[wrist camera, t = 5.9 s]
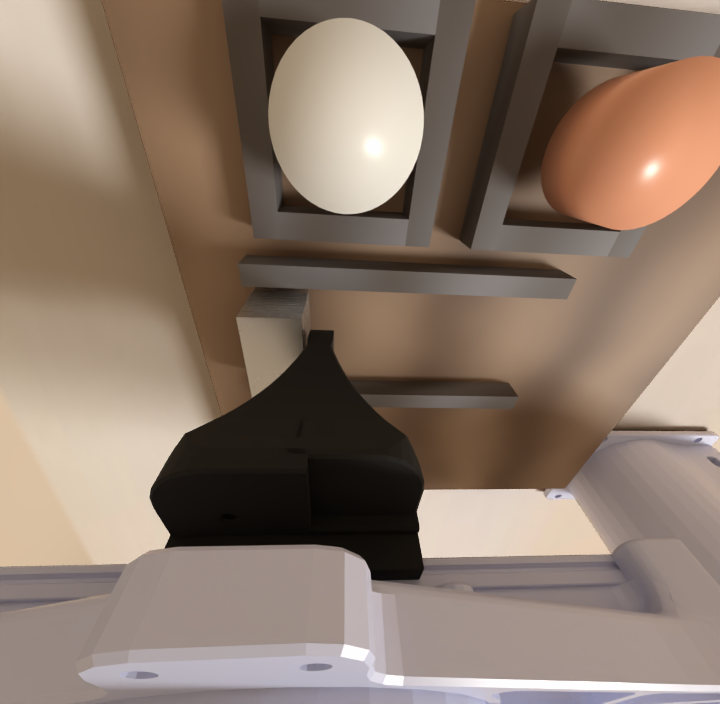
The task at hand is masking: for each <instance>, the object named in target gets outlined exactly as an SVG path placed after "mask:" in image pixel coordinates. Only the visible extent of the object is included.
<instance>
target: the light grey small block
mask: <svg viewBox="0 0 720 704" xmlns="http://www.w3.org/2000/svg"><path fill="white" fill-rule="evenodd" d="M236 320H237V325H238V330H239V335H240V340H241V345H242V350H243V355H244V360H245V365H246V370H247V375H248V380H249V385H250V390H251V395H252V398H253V397H254V396H255V395H257V394H258V393H260V392H261V391H262V390H264V389H265V388H266V387H268V386H269V385H270V384H271V383H272V382H273V381H275V380H276V379H277V378H278V377H279V376H280V375H281V374H282V373H283V372H284V371H285V370H286V369H287V368H288V367H289V366H290V365H291V364H292V363H293V362H294V361H295V360H296V358H297V357H298V356H299V355H300V354H301V352H302V351H303V350H304V349H305V347H306V346H307V339H308V335H309V332H310V330H311V327H310V301H309V289H290V288H265V287H255V288H254V290H253V291H252V293H251V295H250V296H249V298H248V299H247V301H246V302H245V304H244V305H243V307H242V309H241V310H240V312H239V313H238V315H237V316H236Z"/></svg>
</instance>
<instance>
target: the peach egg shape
mask: <svg viewBox="0 0 720 704" xmlns="http://www.w3.org/2000/svg"><path fill="white" fill-rule="evenodd" d="M719 166H720V58H718V57H713V56H697V57H691V58H687V59H683V60H679V61H675V62H672V63H668V64H664V65H660V66H656V67H653V68H649V69H645V70H641V71H637V72H634V73H630V74H626V75H622V76H619V77H615V78H612V79H609V80H607V81H605V82H603V83H601V84H599V85H597V86H596V87H594V88H593V89H591V90H590V91H589V92H587V93H586V94H585V95H583V96H582V97H581V98H580V99H579V100H578V101H577V102H576V103H575V104H574V105H573V106H572V107H571V108H570V109H569V110H568V112H567V113H566V114H565V115H564V117H563V118H562V119H561V121H560V122H559V124H558V125H557V127H556V129H555V130H554V132H553V134H552V136H551V138H550V140H549V143H548V145H547V148H546V151H545V154H544V157H543V162H542V167H541V185H542V190H543V193H544V196H545V198H546V200H547V202H548V203H549V205H550V206H551V207H552V208H553V209H554V210H556V211H557V212H559V213H561V214H563V215H566V216H570V217H573V218H576V219H580V220H583V221H586V222H590V223H593V224H596V225H600V226H603V227H606V228H610V229H614V230H631V229H636V228H640V227H644V226H647V225H649V224H652V223H654V222H656V221H658V220H660V219H662V218H664V217H666V216H667V215H669V214H671V213H672V212H674V211H675V210H677V209H678V208H679V207H681V206H682V205H683V204H685V203H686V202H687V201H688V200H689V199H691V198H692V197H693V196H694V195H695V194H696V193H697V192H698V191H699V190H700V189H701V188H702V187H703V186H704V185H705V184H706V182H707V181H708V180H709V179H710V178H711V176H712V175H713V174H714V173H715V171H716V170H717V169H718V167H719Z"/></svg>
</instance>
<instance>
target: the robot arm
mask: <svg viewBox="0 0 720 704" xmlns="http://www.w3.org/2000/svg"><path fill="white" fill-rule="evenodd" d="M718 439H719V436H718V435H717V434H716V433H714V432H712V431H611V432H610V433H609V434H608V436H607V437H606V438H605V439H604V441H603V442H602V443H601V444H600V446H599V447H598V448H597V449H596V451H595V452H594V453H593V454H592V456H591V457H590V458H589V459H588V461H587V462H586V463H585V464H584V466H583V467H582V468H581V469H580V470H579V472H578V473H577V474H576V475H575V477H574V478H573V479H572V480H571V482H570V483H569V484H568V485H567V487H566V488H564V489H546V490H545V491H544V495H545V497H546V498H547V499H575V500H576V501H577V503H578V504H579V506H580V507H581V509H582V510H583V512H584V513H585V515H586V516H587V518H588V519H589V521H590V522H591V524H592V525H593V527H594V528H595V530H596V532H597V533H598V535H599V536H600V538H601V539H602V541H603V542H604V544H605V545H606V547H607V548H608V550H609V551H610V553H611V554H609V555H559V556H509V557H459V558H422V554H421V549H420V543H419V538H418V533H417V532H419V522H418V517H417V509H418V506H419V503H420V500H421V497H422V494H423V491H424V478H423V473H422V470H421V467H420V464H419V461H418V459H417V456H416V454H415V451H414V449H413V447H412V445H411V443H410V441H409V439H408V437H407V436H406V435H405V434H404V433H402V432H401V431H400V430H398V429H397V428H395V427H394V426H393V425H391V424H390V423H389V422H387V421H386V420H385V419H384V418H383V417H382V416H380V415H379V414H378V413H377V412H376V411H375V410H374V409H373V408H372V407H371V406H370V405H369V404H368V403H367V401H366V400H365V399H364V398H363V397H362V396H361V395H360V394H359V392H358V391H357V390H356V389H355V387H354V386H353V385H352V383H351V382H350V380H349V379H348V377H347V376H346V374H345V372H344V371H343V369H342V367H341V365H340V363H339V362H338V359H337V357H336V355H335V353H334V330H310V332H309V335H308V339H307V346H306V347H305V349H304V350H303V351H302V352H301V354H300V355H299V356H298V357H297V358H296V360H295V361H294V362H293V363H292V364H291V365H290V366H289V367H288V368H287V369H286V370H285V371H284V372H283V373H282V374H281V375H280V376H279V377H278V378H277V379H276V380H275V381H273V382H272V383H271V384H270V385H269V386H268V387H266V388H265V389H264V390H262V391H261V392H260V393H258V394H257V395H255V396H254V397H253V398H251V399H250V400H248V401H247V402H245V403H243V404H242V405H240V406H239V407H237V408H235V409H233V410H232V411H230V412H228V413H226V414H225V415H223V416H221V417H219V418H217V419H215V420H213V421H211V422H209V423H207V424H205V425H203V426H200V427H198V428H196V429H194V430H192V431H190V432H188V433H185V434H184V436H183V437H182V439H181V440H180V442H179V443H178V444H177V446H176V447H175V448H174V450H173V452H172V453H171V455H170V456H169V458H168V460H167V461H166V463H165V465H164V467H163V468H162V470H161V472H160V474H159V475H158V477H157V479H156V481H155V482H154V484H153V486H152V488H151V492H150V500H151V502H152V505H153V507H154V509H155V511H156V513H157V514H158V516H159V517H160V519H161V520H162V522H163V524H164V525H165V527H166V528H167V530H168V531H169V533H170V537H169V540H168V542H167V544H166V546H165V549H159V550H152V551H149V552H147V553H145V554H143V555H141V556H140V557H138V558H137V559H135V560H134V561H132V562H131V563H129V564H111V565H62V566H19V567H18V566H15V567H14V566H12V567H0V704H720V452H718V451H717V450H716V449H715V448H713V447H712V446H711V445H712V444H714V443H715V442H716V441H717V440H718Z"/></svg>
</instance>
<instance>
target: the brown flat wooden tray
mask: <svg viewBox="0 0 720 704" xmlns="http://www.w3.org/2000/svg"><path fill="white" fill-rule="evenodd" d="M102 4H103V7H104V11H105V14H106V18H107V21H108V24H109V28H110V31H111V35H112V38H113V42H114V45H115V49H116V52H117V56H118V59H119V62H120V66H121V69H122V73H123V76H124V80H125V83H126V87H127V90H128V94H129V97H130V100H131V104H132V107H133V111H134V114H135V118H136V121H137V125H138V128H139V131H140V135H141V138H142V142H143V145H144V149H145V152H146V156H147V159H148V163H149V166H150V169H151V173H152V176H153V180H154V183H155V187H156V190H157V194H158V197H159V201H160V204H161V207H162V211H163V214H164V218H165V221H166V225H167V228H168V232H169V235H170V239H171V242H172V245H173V249H174V252H175V256H176V259H177V263H178V266H179V270H180V273H181V276H182V280H183V283H184V287H185V290H186V294H187V297H188V301H189V304H190V308H191V311H192V314H193V318H194V321H195V325H196V328H197V332H198V335H199V339H200V342H201V346H202V349H203V352H204V356H205V359H206V363H207V366H208V370H209V373H210V377H211V380H212V383H213V387H214V390H215V394H216V397H217V401H218V404H219V408H220V411H221V415H222V416H223V415H225V414H226V413H228V412H230V411H232V410H233V409H235V408H237V407H239V406H240V405H242V404H243V403H245V402H247V401H248V400H250V399H251V398H252V395H251V390H250V385H249V380H248V375H247V370H246V365H245V360H244V355H243V350H242V345H241V340H240V335H239V330H238V325H237V320H236V316H237V315H238V313H239V312H240V310H241V309H242V307H243V305H244V304H245V302H246V301H247V299H248V298H249V296H250V295H251V293H252V291H253V290H254V288H255V287H265V288H290V289H309V301H310V327H311V330H334V353H335V355H336V357H337V359H338V362H339V363H340V365H341V367H342V369H343V371H344V372H345V374H346V376H347V377H348V379H349V380H350V382H351V383H352V385H353V386H354V387H355V389H356V390H357V391H358V392H359V394H360V395H361V396H362V397H363V398H364V399H365V400H366V401H367V403H368V404H369V405H370V406H371V407H372V408H373V409H374V410H375V411H376V412H377V413H378V414H379V415H380V416H382V417H383V418H384V419H385V420H386V421H387V422H389V423H390V424H391V425H393V426H394V427H395V428H397V429H398V430H400V431H401V432H402V433H404V434H405V435H406V436H407V437H408V439H409V441H410V443H411V445H412V447H413V449H414V451H415V454H416V456H417V459H418V461H419V464H420V467H421V470H422V473H423V478H424V490H430V489H564V488H566V487H567V485H568V484H569V483H570V482H571V480H572V479H573V478H574V477H575V475H576V474H577V473H578V472H579V470H580V469H581V468H582V467H583V466H584V464H585V463H586V462H587V461H588V459H589V458H590V457H591V456H592V454H593V453H594V452H595V451H596V449H597V448H598V447H599V446H600V444H601V443H602V442H603V441H604V439H605V438H606V437H607V436H608V434H609V433H610V432H611V431H612V430H613V428H614V427H615V426H616V425H617V423H618V422H619V421H620V420H621V418H622V417H623V416H624V415H625V413H626V412H627V411H628V410H629V408H630V407H631V406H632V405H633V403H634V402H635V401H636V400H637V398H638V397H639V396H640V395H641V394H642V392H643V391H644V390H645V389H646V387H647V386H648V385H649V384H650V382H651V381H652V380H653V379H654V377H655V376H656V375H657V374H658V372H659V371H660V370H661V369H662V367H663V366H664V365H665V364H666V362H667V361H668V360H669V359H670V357H671V356H672V355H673V354H674V353H675V351H676V350H677V349H678V348H679V346H680V345H681V344H682V343H683V341H684V340H685V339H686V338H687V336H688V335H689V334H690V333H691V331H692V330H693V329H694V328H695V326H696V325H697V324H698V323H699V321H700V320H701V319H702V318H703V317H704V315H705V314H706V313H707V312H708V310H709V309H710V308H711V307H712V305H713V304H714V303H715V302H716V300H717V299H718V298H719V297H720V166H719V167H718V169H717V170H716V171H715V173H714V174H713V175H712V176H711V178H710V179H709V180H708V181H707V182H706V184H705V185H704V186H703V187H702V188H701V189H700V190H699V191H698V192H697V193H696V194H695V195H694V196H693V197H692V198H691V199H689V200H688V201H687V202H686V203H685V204H683V205H682V206H681V207H679V208H678V209H677V210H675V211H674V212H672V213H671V214H669V215H667V216H666V217H664V218H662V219H660V220H658V221H656V222H654V223H652V224H649V225H647V226H644V227H640V228H636V229H631V230H614V229H610V228H606V227H603V226H600V225H596V224H593V223H590V222H586V221H583V220H580V219H576V218H573V217H570V216H566V215H563V214H561V213H559V212H557V211H556V210H554V209H553V208H552V207H551V206H550V205H549V203H548V202H547V200H546V198H545V196H544V193H543V190H542V185H541V167H542V162H543V157H544V154H545V151H546V148H547V145H548V143H549V140H550V138H551V136H552V134H553V132H554V130H555V129H556V127H557V125H558V124H559V122H560V121H561V119H562V118H563V117H564V115H565V114H566V113H567V112H568V110H569V109H570V108H571V107H572V106H573V105H574V104H575V103H576V102H577V101H578V100H579V99H580V98H581V97H582V96H583V95H585V94H586V93H587V92H589V91H590V90H591V89H593V88H594V87H596V86H597V85H599V84H601V83H603V82H605V81H607V80H609V79H612V78H615V77H619V76H622V75H626V74H630V73H634V72H637V71H641V70H645V69H649V68H653V67H656V66H660V65H664V64H668V63H672V62H675V61H679V60H683V59H687V58H691V57H697V56H713V57H718V58H720V15H719V14H710V13H702V12H693V11H685V10H676V9H668V8H659V7H650V6H642V5H633V4H625V3H616V2H607V1H599V0H531V1H529V2H528V3H520V2H511V1H502V0H102ZM335 18H353V19H358V20H362V21H365V22H367V23H370V24H372V25H374V26H376V27H377V28H379V29H381V30H382V31H384V32H385V33H386V34H387V35H389V36H390V37H391V38H392V39H393V40H394V41H395V42H396V43H397V44H398V46H399V47H400V48H401V49H402V50H403V52H404V54H405V55H406V57H407V58H408V60H409V61H410V63H411V66H412V68H413V70H414V72H415V74H416V77H417V80H418V83H419V86H420V91H421V95H422V101H423V110H424V127H423V137H422V142H421V147H420V151H419V154H418V157H417V160H416V162H415V165H414V167H413V169H412V171H411V173H410V175H409V177H408V178H407V180H406V181H405V183H404V184H403V185H402V187H401V188H400V189H399V190H398V191H397V192H396V193H395V195H393V196H392V197H391V198H390V199H389V200H387V201H386V202H385V203H383V204H382V205H380V206H378V207H376V208H374V209H372V210H369V211H366V212H363V213H357V214H340V213H334V212H331V211H327V210H325V209H322V208H320V207H318V206H316V205H315V204H313V203H311V202H310V201H308V200H307V199H306V198H305V197H303V196H302V195H301V194H300V193H299V192H298V191H297V190H296V189H295V188H294V186H293V185H292V184H291V183H290V181H289V180H288V178H287V177H286V175H285V174H284V172H283V170H282V168H281V166H280V164H279V162H278V160H277V157H276V155H275V152H274V149H273V145H272V141H271V137H270V130H269V119H268V107H269V96H270V91H271V85H272V82H273V78H274V75H275V72H276V70H277V67H278V65H279V63H280V61H281V59H282V57H283V56H284V54H285V52H286V51H287V49H288V48H289V47H290V45H291V44H292V43H293V42H294V41H295V40H296V39H297V38H298V37H299V36H300V35H301V34H302V33H303V32H305V31H306V30H307V29H309V28H311V27H312V26H314V25H316V24H318V23H321V22H323V21H326V20H330V19H335Z"/></svg>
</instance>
